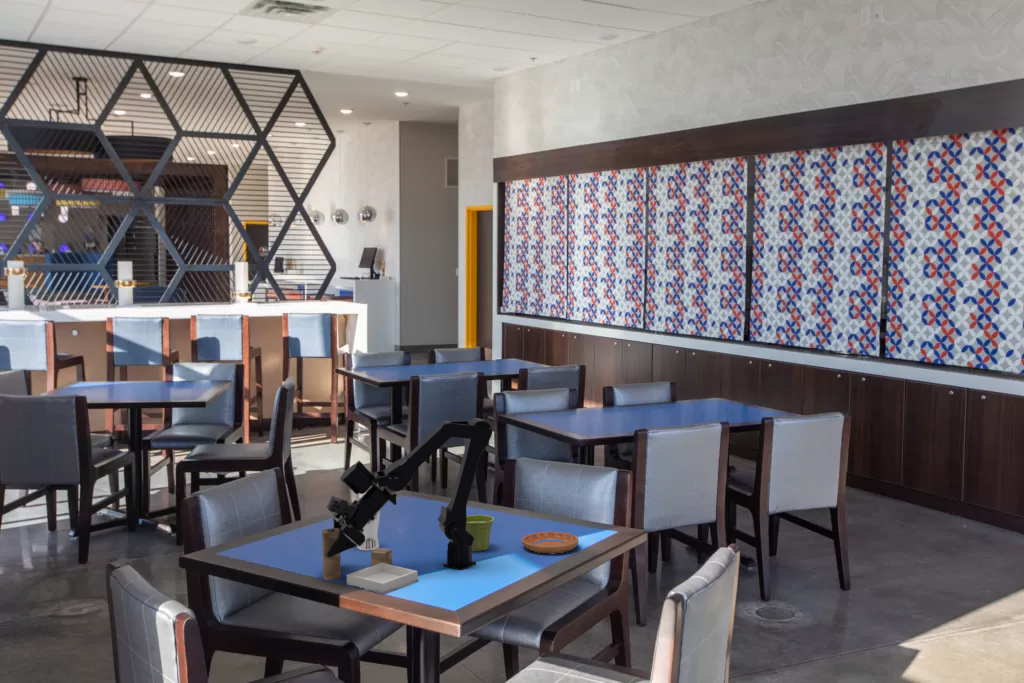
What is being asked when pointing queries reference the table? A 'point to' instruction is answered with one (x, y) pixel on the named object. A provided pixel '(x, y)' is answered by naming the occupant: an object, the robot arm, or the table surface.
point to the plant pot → (479, 530)
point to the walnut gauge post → (330, 563)
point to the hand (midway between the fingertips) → (325, 551)
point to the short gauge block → (381, 556)
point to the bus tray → (382, 578)
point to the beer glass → (370, 532)
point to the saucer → (550, 546)
